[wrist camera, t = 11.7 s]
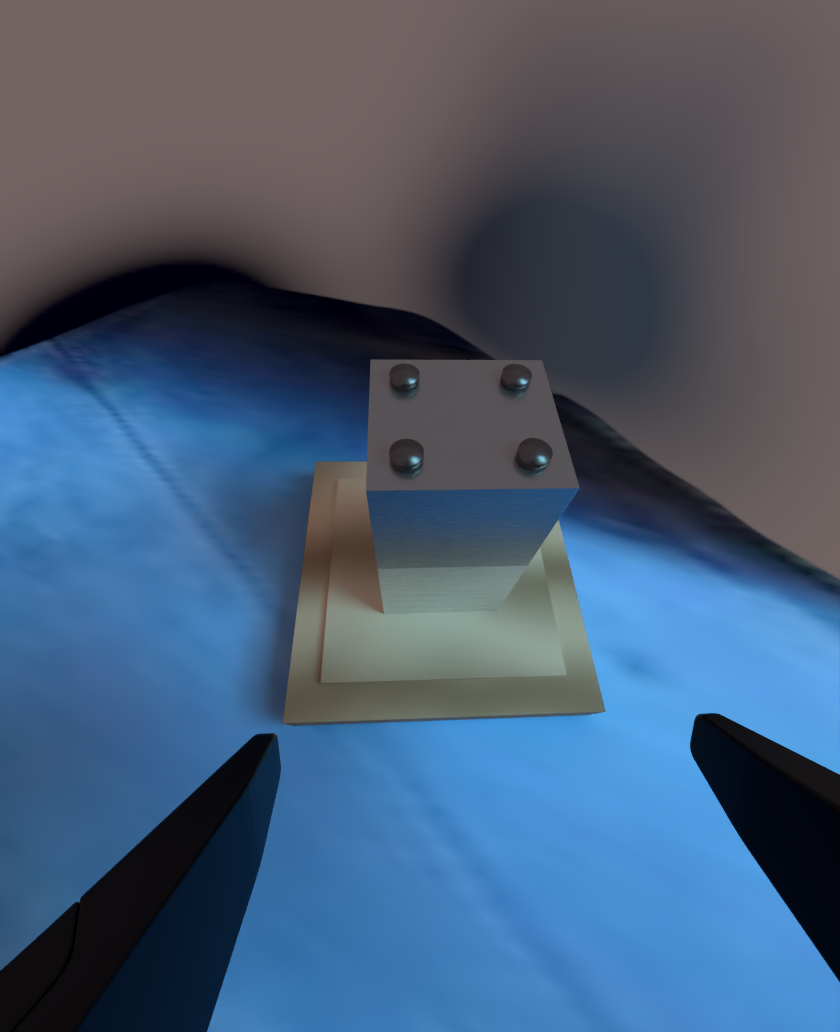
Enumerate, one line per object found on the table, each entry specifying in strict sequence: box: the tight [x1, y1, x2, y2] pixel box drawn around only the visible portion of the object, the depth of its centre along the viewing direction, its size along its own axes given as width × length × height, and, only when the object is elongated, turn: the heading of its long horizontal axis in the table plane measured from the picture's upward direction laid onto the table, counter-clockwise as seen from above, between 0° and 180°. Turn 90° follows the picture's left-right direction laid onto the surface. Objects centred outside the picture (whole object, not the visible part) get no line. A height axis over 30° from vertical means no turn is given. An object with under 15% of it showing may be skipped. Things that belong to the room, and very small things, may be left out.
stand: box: [283, 462, 605, 726], centre depth 21 cm, size 14×14×2 cm
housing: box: [366, 360, 579, 614], centre depth 16 cm, size 5×6×11 cm
